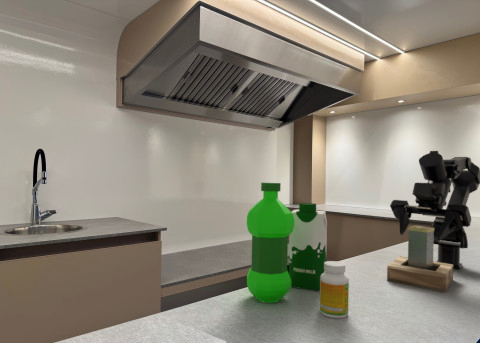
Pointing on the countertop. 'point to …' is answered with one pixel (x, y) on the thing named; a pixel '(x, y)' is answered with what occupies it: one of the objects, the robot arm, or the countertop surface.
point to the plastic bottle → (269, 245)
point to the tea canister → (420, 247)
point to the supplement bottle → (334, 290)
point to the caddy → (420, 275)
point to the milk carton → (307, 247)
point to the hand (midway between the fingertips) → (419, 236)
